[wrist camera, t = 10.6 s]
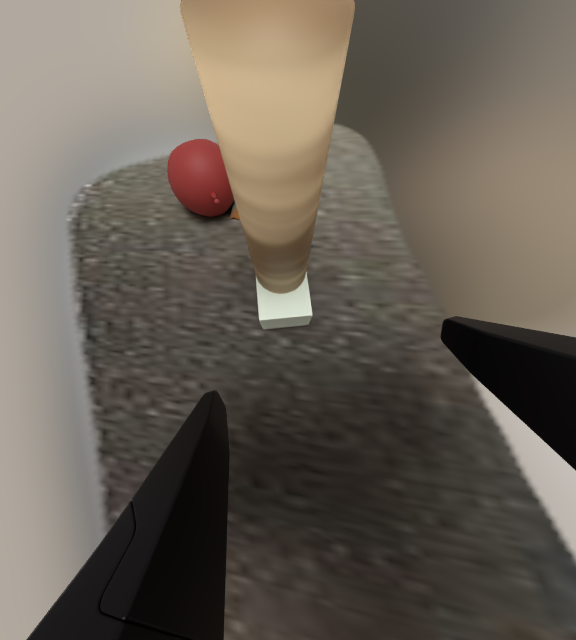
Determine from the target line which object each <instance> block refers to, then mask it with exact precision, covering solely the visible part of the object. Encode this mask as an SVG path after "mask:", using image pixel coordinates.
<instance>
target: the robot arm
mask: <svg viewBox="0 0 576 640" xmlns="http://www.w3.org/2000/svg"><path fill="white" fill-rule="evenodd" d="M441 340H442V342H443V343H444V344H445V345H446V346H447V348H448V349H449V350H450V351H451V352H452V353H453V354H454V355H455V356H456V358H457V359H458V360H459V361H460V362H461V363H462V364H463V365H464V366H465V368H466V369H467V370H468V371H469V372H470V373H471V374H472V375H473V376H474V377H475V378H476V379H477V380H479V381H480V382H481V383H482V384H483V385H484V386H485V387H486V388H487V389H488V390H489V391H491V392H492V393H493V394H494V395H495V396H496V397H497V398H498V399H499V400H500V401H501V402H502V403H503V404H504V405H506V406H507V407H508V408H509V409H510V410H511V411H512V412H513V413H514V414H515V415H516V416H517V417H519V418H520V419H521V420H522V421H523V422H524V423H525V424H526V425H527V426H528V427H529V428H530V429H531V430H533V431H534V432H535V433H536V434H537V435H538V436H539V437H540V438H541V439H542V440H543V441H544V442H546V443H547V444H548V445H549V446H550V447H551V448H552V449H553V450H554V451H555V452H556V453H557V454H559V455H560V456H561V457H562V458H563V459H564V460H565V461H566V462H567V463H568V464H569V465H571V466H572V467H573V468H574V469H575V470H576V337H570V336H565V335H559V334H553V333H547V332H542V331H536V330H530V329H525V328H519V327H514V326H508V325H503V324H497V323H491V322H485V321H480V320H475V319H469V318H463V317H458V316H454V317H450V318H447V319H445V320H444V321H443V324H442V330H441ZM228 484H229V441H228V428H227V415H226V408H225V405H224V403H223V401H222V399H221V397H220V395H219V393H218V392H217V391H215V390H214V391H211V392H207V393H205V394H204V395H203V396H202V398H201V399H200V401H199V402H198V404H197V405H196V406H195V408H194V409H193V411H192V412H191V414H190V415H189V417H188V418H187V419H186V421H185V422H184V424H183V425H182V427H181V428H180V430H179V431H178V432H177V434H176V435H175V437H174V438H173V440H172V441H171V443H170V444H169V445H168V447H167V448H166V450H165V451H164V453H163V454H162V456H161V457H160V459H159V460H158V461H157V463H156V464H155V466H154V467H153V469H152V470H151V472H150V473H149V474H148V476H147V477H146V479H145V480H144V482H143V483H142V485H141V486H140V487H139V489H138V490H137V492H136V493H135V495H134V496H133V498H132V501H130V502H129V503H128V505H127V506H126V508H125V509H124V510H123V512H122V513H121V515H120V516H119V518H118V519H117V520H116V522H115V523H114V525H113V526H112V527H111V529H110V530H109V532H108V533H107V534H106V536H105V537H104V539H103V540H102V541H101V543H100V544H99V546H98V547H97V548H96V550H95V551H94V552H93V554H92V555H91V556H90V558H89V559H88V560H87V562H86V563H85V564H84V566H83V567H82V568H81V569H80V571H79V572H78V574H77V575H76V576H75V578H74V579H73V580H72V581H71V583H70V584H69V585H68V586H67V588H66V589H65V590H64V592H63V593H62V594H61V596H60V597H59V598H58V599H57V601H56V602H55V603H54V605H53V606H52V607H51V608H50V610H49V611H48V612H47V614H46V615H45V616H44V618H43V619H42V620H41V621H40V623H39V624H38V625H37V627H36V628H35V630H34V631H33V632H32V633H31V634H30V636H29V637H28V639H27V640H224V609H225V578H226V546H227V515H228Z"/></svg>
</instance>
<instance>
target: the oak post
mask: <svg viewBox="0 0 576 640" xmlns="http://www.w3.org/2000/svg"><path fill="white" fill-rule="evenodd" d="M180 8H181V15H182V19H183V22H184V26H185V29H186V33H187V36H188V40H189V43H190V46H191V50H192V54H193V57H194V61H195V64H196V67H197V71H198V74H199V78H200V81H201V85H202V88H203V91H204V95H205V99H206V102H207V106H208V109H209V113H210V116H211V119H212V123H213V127H214V130H215V134H216V137H217V141H218V144H219V148H220V151H221V155H222V158H223V162H224V165H225V169H226V172H227V176H228V179H229V183H230V186H231V190H232V193H233V197H234V200H235V204H236V207H237V211H238V214H239V218H240V221H241V224H242V228H243V231H244V235H245V238H246V242H247V245H248V249H249V252H250V256H251V259H252V263H253V266H254V270H255V273H256V277H257V280H258V282H259V283H260V284H261V286H262V287H263V288H265V289H266V290H268V291H270V292H272V293H277V294H285V293H289V292H292V291H294V290H295V289H297V288H298V287H299V286H300V285H301V284H302V283H303V281H304V279H305V275H306V270H307V265H308V259H309V254H310V249H311V243H312V238H313V232H314V227H315V222H316V216H317V211H318V205H319V200H320V195H321V189H322V184H323V178H324V173H325V168H326V162H327V157H328V151H329V146H330V141H331V135H332V130H333V124H334V119H335V114H336V108H337V103H338V97H339V92H340V86H341V81H342V76H343V70H344V65H345V59H346V54H347V49H348V43H349V38H350V32H351V27H352V21H353V16H354V8H355V4H354V0H181V4H180Z"/></svg>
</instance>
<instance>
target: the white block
mask: <svg viewBox="0 0 576 640" xmlns="http://www.w3.org/2000/svg"><path fill="white" fill-rule="evenodd" d="M256 283H257V297H258V310H259V321H260V323H261V325H262V328H263V329H272V328H282V327H292V326H302V325H309V322H310V320H311V318H312V309H311V301H310V294H309V287H308V280H307V273H306V275H305V279H304V281H303V283H302V284H301V285H300V286H299V287H298V288H297V289H295V290H294V291H292V292H289V293H285V294H277V293H272V292H270V291H268V290H266V289H265V288H263V287H262V286H261V284H260V283H259V282H258V280H257V277H256Z"/></svg>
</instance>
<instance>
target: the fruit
mask: <svg viewBox="0 0 576 640" xmlns="http://www.w3.org/2000/svg"><path fill="white" fill-rule="evenodd" d="M167 172H168V179H169V183H170V186H171V188H172V190H173V192H174V194H175V196H176V197H177V198H178V200H179V201H180V202H181V203H182V204H183V205H184V206H185V207H186V208H188V209H189V210H191V211H193V212H195V213H197V214H200V215H204V216H208V217H214V216H219V215H221V214H223V213H225V212H226V211H227V210H228V209H229V208H230V207H231V205H232V204H233V202H234V201H235V200H234V197H233V193H232V190H231V186H230V183H229V179H228V176H227V172H226V169H225V165H224V162H223V158H222V155H221V151H220V148H219V146H218V145H217V144H216V143H214V142H212V141H210V140H206V139H196V140H191V141H188V142H185V143H183V144H181V145H179V146H178V147H176V148H175V149H174V150H173V151H172V152H171V154H170V157H169V160H168V167H167Z"/></svg>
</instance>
